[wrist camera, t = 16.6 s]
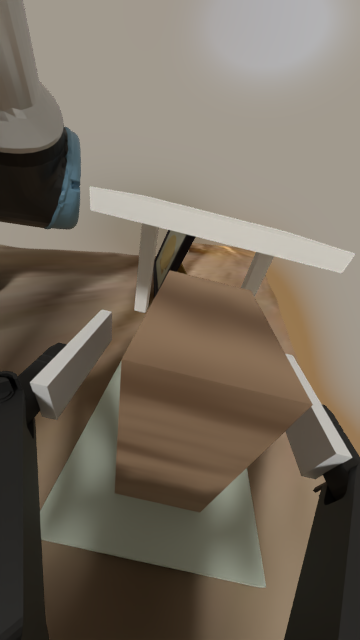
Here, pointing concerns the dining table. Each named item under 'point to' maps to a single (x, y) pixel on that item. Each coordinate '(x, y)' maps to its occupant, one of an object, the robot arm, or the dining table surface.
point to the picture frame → (171, 256)
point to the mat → (148, 512)
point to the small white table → (211, 237)
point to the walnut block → (200, 393)
